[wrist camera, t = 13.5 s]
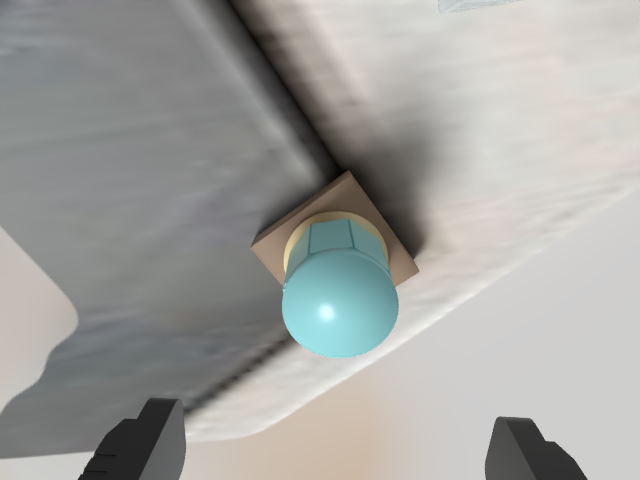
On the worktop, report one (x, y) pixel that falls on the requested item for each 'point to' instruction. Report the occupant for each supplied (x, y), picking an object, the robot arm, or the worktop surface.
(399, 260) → the board
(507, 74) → the worktop surface
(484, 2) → the skincare box
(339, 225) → the cap
